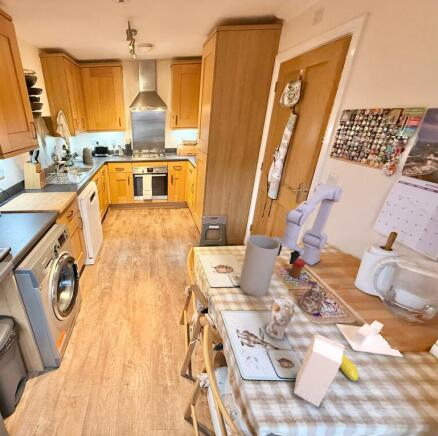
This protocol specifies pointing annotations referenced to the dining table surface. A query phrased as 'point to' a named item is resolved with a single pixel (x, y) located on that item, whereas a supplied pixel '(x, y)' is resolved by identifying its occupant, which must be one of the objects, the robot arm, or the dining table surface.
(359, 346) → the napkin holder
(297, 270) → the spice jar
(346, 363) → the lemon
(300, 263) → the spice lid
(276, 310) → the beer glass
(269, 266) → the cylinder vase
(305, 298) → the figurine
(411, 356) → the dining table surface
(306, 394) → the milk
